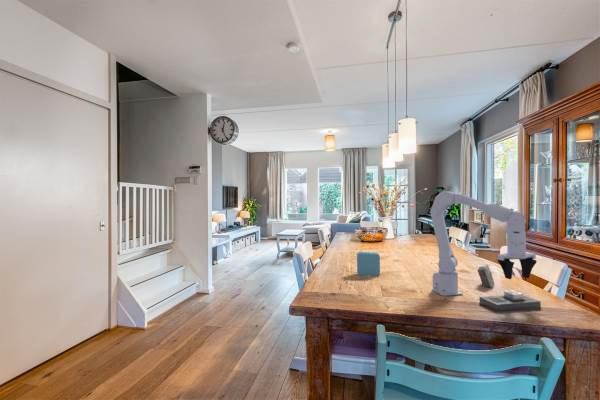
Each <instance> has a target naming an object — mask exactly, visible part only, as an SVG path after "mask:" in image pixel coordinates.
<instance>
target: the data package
mask: <svg viewBox="0 0 600 400" xmlns="http://www.w3.org/2000/svg"><path fill="white" fill-rule="evenodd" d="M356 273H357V275H358V276H362V275H363V276H366V277H368V276H370V277H379V276H380V274H381V256H380V253H379V252H377V251H376V252H375V251H374V252H370V251H359V252H357V253H356Z"/></svg>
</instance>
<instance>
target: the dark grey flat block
mask: <svg viewBox="0 0 600 400" xmlns="http://www.w3.org/2000/svg"><path fill="white" fill-rule="evenodd" d="M479 304H480V305H481V306H484V307H486V308H488V309H490V310H493V311H495V312H509V311H522V310H537V309H541V308H542V306H541V300H537V299H535V298H532V297H529V296H527V295H523V301H521V302H513V301H510V300H508V299H505V298H504V294H503V295H492V296H491V295H490V296H480V297H479Z"/></svg>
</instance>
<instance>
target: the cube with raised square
mask: <svg viewBox="0 0 600 400" xmlns="http://www.w3.org/2000/svg"><path fill="white" fill-rule="evenodd" d="M503 295H504V298H505V299H508V300H510V301H513V302H521V301H523V292H519V291H516V290H504V291H503Z"/></svg>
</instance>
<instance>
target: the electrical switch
mask: <svg viewBox="0 0 600 400" xmlns="http://www.w3.org/2000/svg"><path fill="white" fill-rule="evenodd" d="M477 273H478V276H479V279H480V282H481V284H482V287H488V288H489V287H490V289H493V288H494V285H495V281H494V277H493V274H492V271H491V269H490V266H489V265H488V263H487V264H484V266H479V267H478V269H477Z"/></svg>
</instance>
